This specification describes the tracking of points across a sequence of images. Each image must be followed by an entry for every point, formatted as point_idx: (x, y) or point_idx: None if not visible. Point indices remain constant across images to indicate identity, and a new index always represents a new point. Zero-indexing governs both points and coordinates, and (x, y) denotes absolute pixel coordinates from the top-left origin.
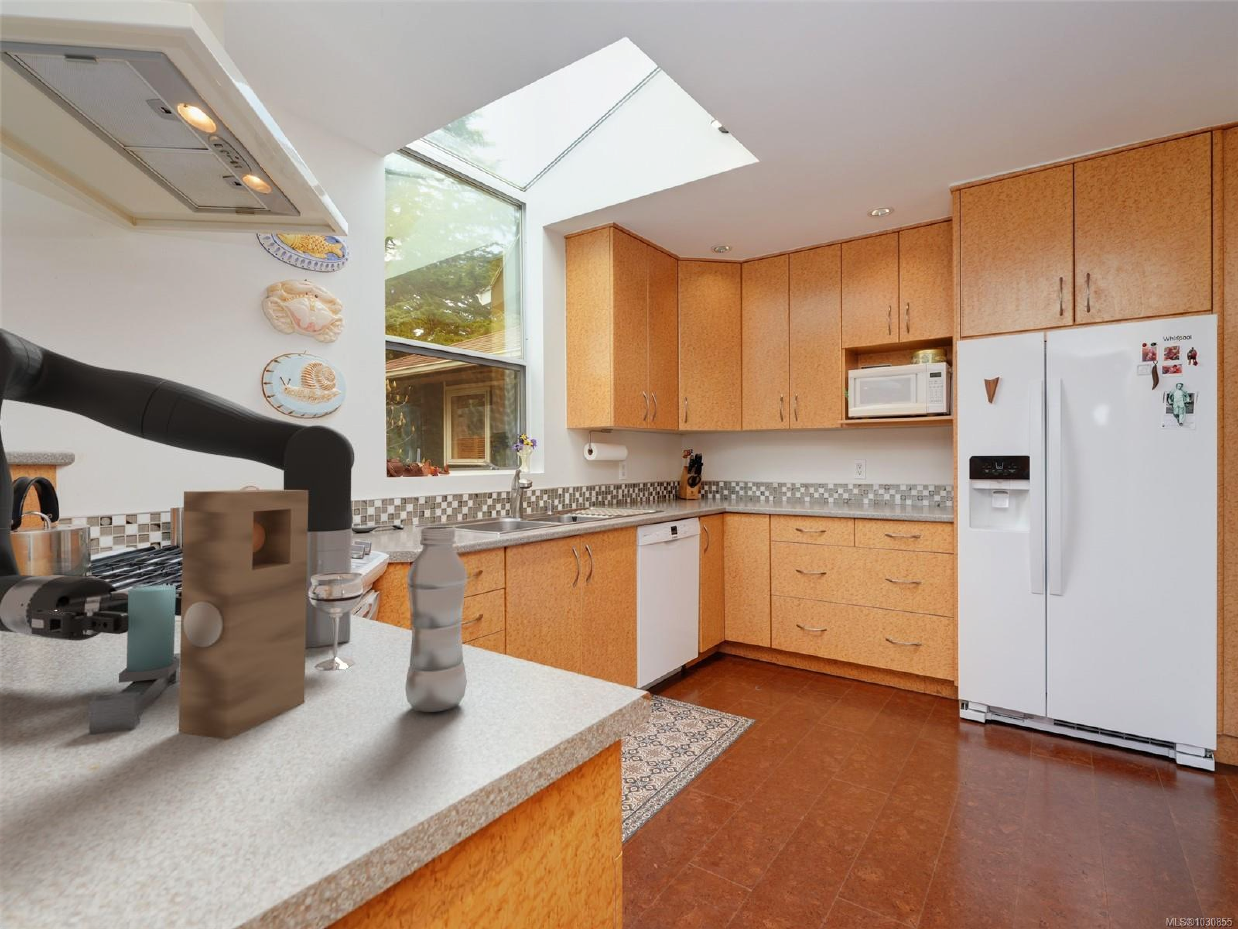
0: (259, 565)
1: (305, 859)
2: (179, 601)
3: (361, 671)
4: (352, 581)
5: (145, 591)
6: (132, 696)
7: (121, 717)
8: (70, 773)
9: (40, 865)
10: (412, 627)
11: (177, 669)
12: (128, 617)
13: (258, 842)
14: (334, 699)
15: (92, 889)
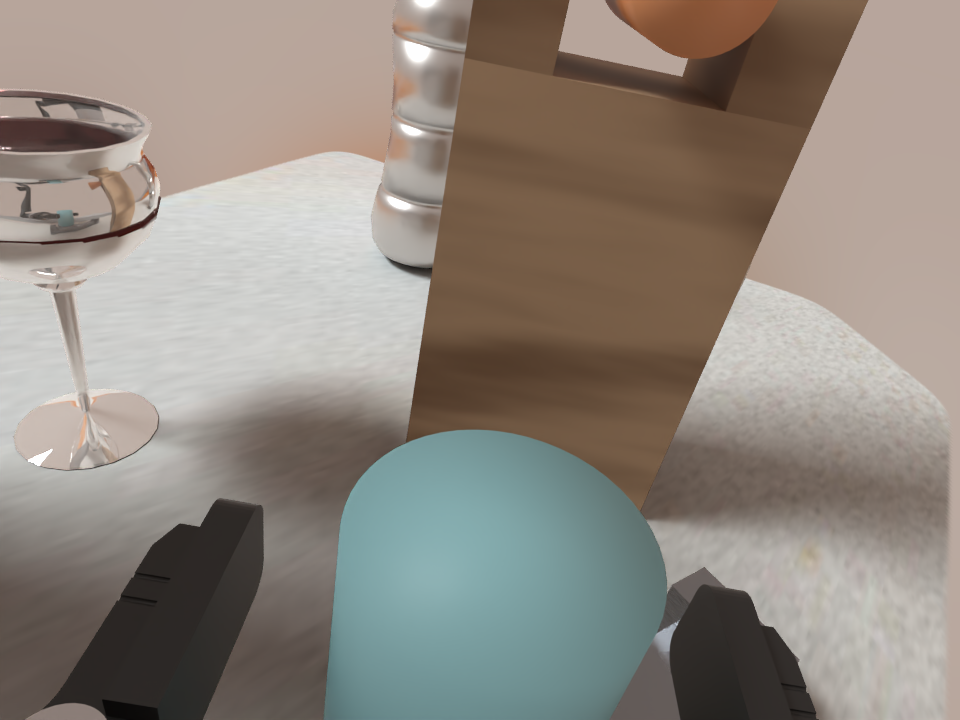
0: (608, 69)
1: (754, 292)
2: (203, 632)
3: (185, 362)
4: (103, 118)
5: (612, 502)
6: (705, 577)
7: None
8: (849, 577)
9: (923, 436)
10: (451, 137)
11: None
12: (697, 591)
13: (763, 318)
14: (394, 358)
15: (889, 381)
